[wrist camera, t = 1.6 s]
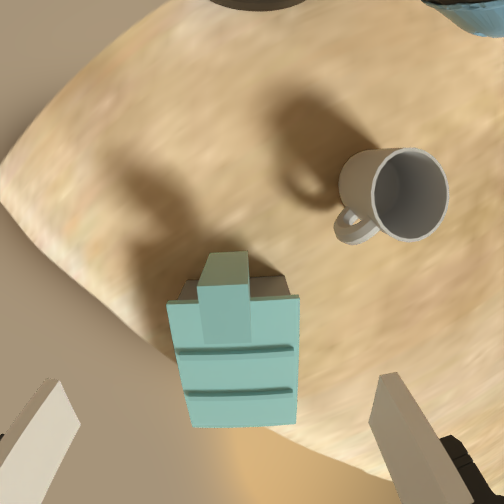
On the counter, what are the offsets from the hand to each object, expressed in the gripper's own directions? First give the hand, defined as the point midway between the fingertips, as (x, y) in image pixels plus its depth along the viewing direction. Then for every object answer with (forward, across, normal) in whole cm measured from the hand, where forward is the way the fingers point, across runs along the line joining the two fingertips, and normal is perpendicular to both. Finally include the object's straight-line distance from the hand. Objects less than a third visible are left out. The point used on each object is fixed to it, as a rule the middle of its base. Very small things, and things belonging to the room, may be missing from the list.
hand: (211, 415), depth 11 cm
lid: (+15, 0, -7) cm, 17 cm away
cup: (+21, +13, +6) cm, 26 cm away
